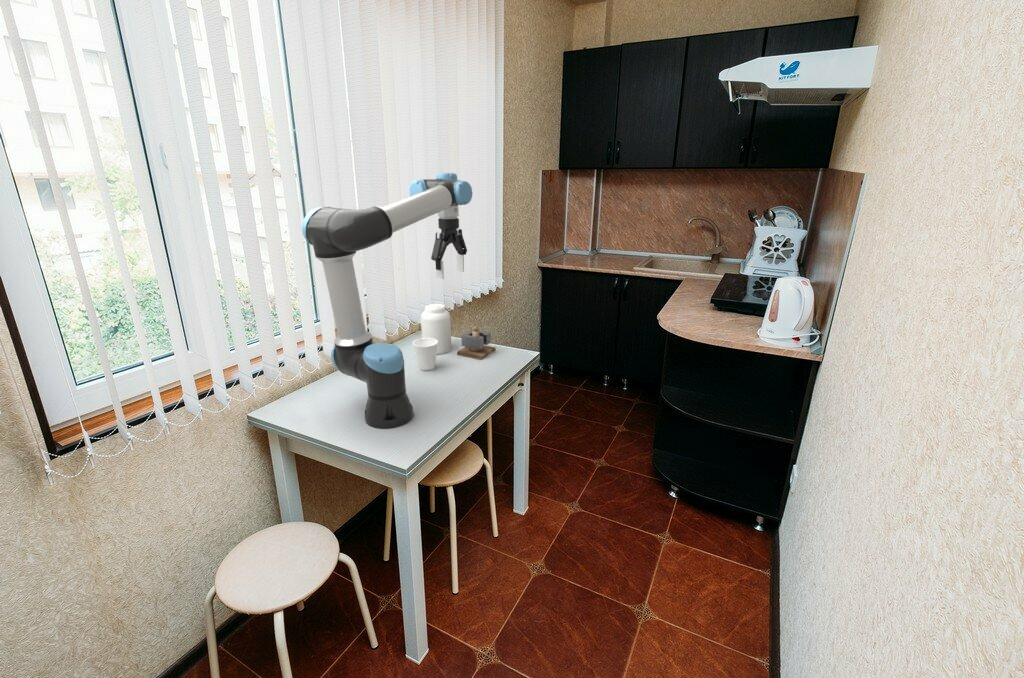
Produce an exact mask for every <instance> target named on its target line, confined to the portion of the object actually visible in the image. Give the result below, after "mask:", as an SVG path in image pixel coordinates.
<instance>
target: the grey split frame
mask: <svg viewBox="0 0 1024 678" xmlns="http://www.w3.org/2000/svg"><path fill="white" fill-rule="evenodd" d="M473 330H474V329H471V330H469V331H468V332H465V333H463V334H462V335H461V336H460V337H461V346H462V347H470V348H475V349H481V348H483V347H484V345H485V346H489V344H491V343H492V342H491V340H492V338H491V334H492V333H491V332H488V331H483V330H479V332H480V336H479V337H475V336H472V331H473Z"/></svg>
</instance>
